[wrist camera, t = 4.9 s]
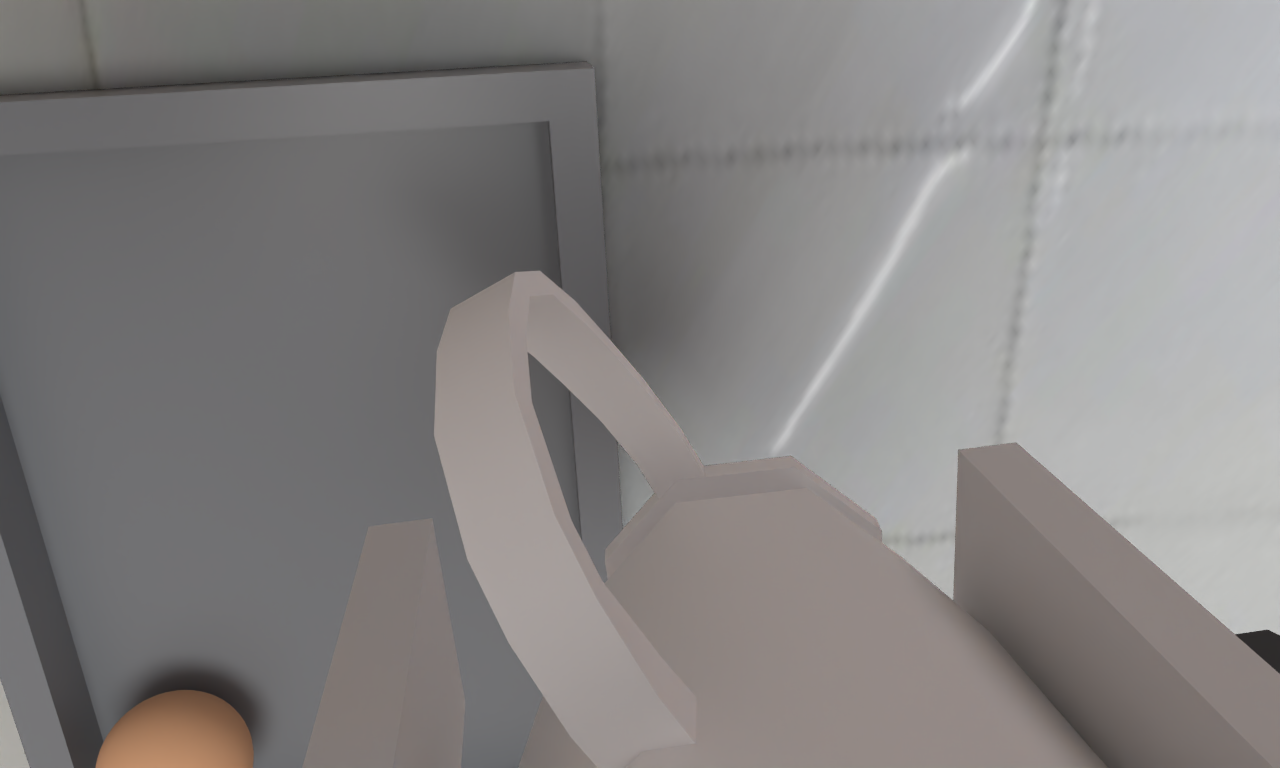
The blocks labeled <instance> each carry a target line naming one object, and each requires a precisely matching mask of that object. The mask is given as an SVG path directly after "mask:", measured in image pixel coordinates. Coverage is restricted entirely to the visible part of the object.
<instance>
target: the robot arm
mask: <svg viewBox="0 0 1280 768" xmlns="http://www.w3.org/2000/svg"><path fill="white" fill-rule="evenodd" d="M953 601H954V602H955V603H956V604H958V605H959V606H960V607H961V608H962V609H963V610H965V611H966V612H967V613H968V614H969V615H971V616H972V617H973V618H974V619H975V620H976V621H978V622H979V623H980V624H981V625H982V626H984V627H985V628H986V629H987V630H988V631H989V632H990V633H991V634H992V635H993V636H994V637H995V639H996V640H997V641H998V642H999V643H1000V644H1001V646H1002V647H1003V648H1004V649H1005V650H1006V651H1007V652H1008V654H1009V655H1010V656H1011V657H1012V658H1013V659H1014V660H1015V662H1016V663H1017V664H1018V665H1019V666H1020V667H1021V668H1022V670H1023V671H1024V672H1025V673H1026V674H1027V675H1028V677H1029V678H1030V679H1031V680H1032V681H1033V682H1034V683H1035V685H1036V686H1037V687H1038V688H1039V689H1040V690H1041V691H1042V693H1043V694H1044V695H1045V696H1046V697H1047V698H1048V700H1049V701H1050V702H1051V703H1052V704H1053V705H1054V706H1055V708H1056V709H1057V710H1058V711H1059V712H1060V713H1061V714H1062V716H1063V717H1064V718H1065V719H1066V720H1067V721H1068V723H1069V724H1070V725H1071V726H1072V727H1073V728H1074V729H1075V731H1076V732H1077V733H1078V734H1079V735H1080V736H1081V737H1082V739H1083V740H1084V741H1085V742H1086V743H1087V744H1088V746H1089V747H1090V748H1091V749H1092V750H1093V751H1094V752H1095V754H1096V755H1097V756H1098V757H1099V758H1100V759H1101V760H1102V761H1103V762H1104V763H1105V765H1106V766H1107V767H1108V768H1280V635H1277V634H1275V633H1273V632H1271V631H1269V630H1263V631H1256V632H1249V633H1242V634H1234V633H1233V632H1231V631H1230V630H1229V629H1228V628H1227V627H1226V626H1225V625H1223V624H1222V623H1221V622H1220V621H1219V620H1218V619H1217V618H1215V617H1214V616H1213V615H1212V614H1211V613H1210V612H1209V611H1208V610H1206V609H1205V608H1204V607H1203V606H1202V605H1201V604H1200V603H1198V602H1197V601H1196V600H1195V599H1194V598H1193V597H1192V596H1190V595H1189V594H1188V593H1187V592H1186V591H1185V590H1184V589H1182V588H1181V587H1180V586H1179V585H1178V584H1177V583H1176V582H1174V581H1173V580H1172V579H1171V578H1170V577H1169V576H1168V575H1167V574H1165V573H1164V572H1163V571H1162V570H1161V569H1160V568H1159V567H1157V566H1156V565H1155V564H1154V563H1153V562H1152V561H1151V560H1149V559H1148V558H1147V557H1146V556H1145V555H1144V554H1143V553H1141V552H1140V551H1139V550H1138V549H1137V548H1136V547H1135V546H1133V545H1132V544H1131V543H1130V542H1129V541H1128V540H1127V539H1126V538H1124V537H1123V536H1122V535H1121V534H1120V533H1119V532H1118V531H1116V530H1115V529H1114V528H1113V527H1112V526H1111V525H1110V524H1108V523H1107V522H1106V521H1105V520H1104V519H1103V518H1102V517H1100V516H1099V515H1098V514H1097V513H1096V512H1095V511H1094V510H1093V509H1091V508H1090V507H1089V506H1088V505H1087V504H1086V503H1085V502H1083V501H1082V500H1081V499H1080V498H1079V497H1078V496H1077V495H1075V494H1074V493H1073V492H1072V491H1071V490H1070V489H1069V488H1067V487H1066V486H1065V485H1064V484H1063V483H1062V482H1061V481H1059V480H1058V479H1057V478H1056V477H1055V476H1054V475H1053V474H1052V473H1050V472H1049V471H1048V470H1047V469H1046V468H1045V467H1044V466H1042V465H1041V464H1040V463H1039V462H1038V461H1037V460H1036V459H1034V458H1033V457H1032V456H1031V455H1030V454H1029V453H1028V452H1026V451H1025V450H1024V449H1023V448H1022V447H1021V446H1020V445H1018V444H1017V443H1016V442H1015V443H1007V444H1000V445H992V446H984V447H977V448H969V449H961V450H958V473H957V503H956V533H955V563H954V594H953ZM464 714H465V698H464V692H463V687H462V681H461V676H460V670H459V665H458V659H457V653H456V648H455V642H454V637H453V631H452V626H451V620H450V615H449V609H448V604H447V598H446V592H445V587H444V581H443V576H442V570H441V565H440V559H439V554H438V548H437V542H436V537H435V531H434V526H433V520H432V518H431V519H423V520H415V521H407V522H400V523H392V524H384V525H377V526H369V527H368V531H367V535H366V538H365V542H364V546H363V549H362V553H361V556H360V560H359V564H358V567H357V571H356V575H355V578H354V582H353V586H352V589H351V593H350V596H349V600H348V604H347V607H346V611H345V615H344V618H343V622H342V625H341V629H340V633H339V636H338V640H337V644H336V647H335V651H334V655H333V658H332V662H331V665H330V669H329V673H328V676H327V680H326V684H325V687H324V691H323V695H322V698H321V702H320V705H319V709H318V713H317V716H316V720H315V724H314V727H313V731H312V735H311V738H310V742H309V745H308V749H307V753H306V756H305V760H304V764H303V767H302V768H461V758H462V743H463V728H464Z"/></svg>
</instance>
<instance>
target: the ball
mask: <svg viewBox="0 0 1280 768" xmlns="http://www.w3.org/2000/svg"><path fill="white" fill-rule="evenodd" d="M253 759H254V750H253V743H252V738H251V735H250V732H249V729H248V727H247V725H246V723H245V721H244V720H243V718H242V717H241V715H240V714H239V713H238V712H237V711H236V710H235V709H234V708H233V707H232V706H231V705H230V704H229V703H227V702H226V701H224V700H223V699H221V698H219V697H217V696H214V695H212V694H209V693H206V692H202V691H196V690H176V691H170V692H165V693H162V694H158V695H156V696H153V697H151V698H149V699H147V700H145V701H143V702H141V703H139V704H138V705H136V706H135V707H134V708H132V709H131V710H129V711H128V712H127V713H126V714H125V715H124V716H123V717H122V718H121V719H120V720H119V721H118V722H117V723H116V724H115V725H114V727H113V728H112V729H111V731H110V732H109V734H108V735H107V737H106V738H105V740H104V742H103V744H102V747H101V749H100V751H99V755H98V758H97V762H96V767H95V768H253Z"/></svg>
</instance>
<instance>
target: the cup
mask: <svg viewBox="0 0 1280 768" xmlns="http://www.w3.org/2000/svg"><path fill="white" fill-rule="evenodd" d="M527 352H528V353H530V354H531V355H532V356H533V357H535V358H536V359H537V360H538V361H539V362H540V363H541V364H542V365H543V366H544V367H545V368H546V369H547V370H548V371H550V372H551V373H552V374H553V375H554V376H555V377H556V378H557V379H558V380H559V381H560V382H561V383H562V384H564V385H565V386H566V387H567V388H568V389H569V390H570V391H571V392H572V393H573V394H574V395H575V396H576V397H577V398H578V399H579V400H580V401H581V402H582V403H583V404H584V405H585V406H586V407H587V408H588V409H589V410H590V411H591V412H592V413H593V414H594V415H595V416H596V417H597V418H598V419H599V420H600V421H601V422H602V423H603V424H604V426H605V427H606V428H607V429H608V430H609V432H610V433H611V434H612V435H613V436H614V438H615V439H616V440H617V441H618V442H619V443H620V445H621V446H622V447H623V448H624V449H625V451H626V452H627V453H628V454H629V455H630V457H631V458H632V459H633V460H634V461H635V463H636V464H637V465H638V467H639V468H640V470H641V472H642V473H643V475H644V476H645V478H646V480H647V481H648V483H649V484H650V486H651V488H652V489H653V491H654V492H655V493H654V494H653V495H652V497H651V498H650V499H649V500H648V501H647V502H646V503H645V505H644V506H643V507H642V508H641V509H640V510H639V511H638V513H637V514H636V515H635V516H634V517H633V518H632V519H631V521H630V522H629V523H628V524H627V525H626V526H625V527H624V528H623V530H622V531H621V532H620V533H619V534H618V535H617V536H616V538H615V539H614V540H613V541H612V542H611V543H610V544H609V546H608V547H607V548H606V549H605V566H606V572H607V579H608V580H607V581H606V582H605V583H604V582H603V581H602V580H601V578H600V576H599V574H598V572H597V570H596V568H595V566H594V564H593V562H592V560H591V558H590V556H589V554H588V552H587V550H586V548H585V546H584V544H583V542H582V540H581V538H580V536H579V534H578V532H577V530H576V528H575V526H574V524H573V522H572V520H571V518H570V515H569V512H568V509H567V506H566V503H565V500H564V497H563V494H562V491H561V488H560V485H559V482H558V479H557V476H556V473H555V470H554V467H553V464H552V461H551V458H550V455H549V452H548V449H547V446H546V443H545V440H544V437H543V434H542V431H541V428H540V425H539V422H538V419H537V416H536V413H535V410H534V407H533V404H532V397H531V386H530V375H529V364H528V353H527ZM434 438H435V441H436V445H437V449H438V452H439V456H440V460H441V464H442V467H443V471H444V475H445V478H446V482H447V486H448V490H449V493H450V497H451V501H452V504H453V508H454V512H455V516H456V519H457V523H458V527H459V530H460V534H461V538H462V542H463V545H464V549H465V553H466V556H467V560H468V562H469V564H470V566H471V568H472V570H473V572H474V574H475V576H476V578H477V580H478V582H479V584H480V586H481V588H482V590H483V592H484V594H485V596H486V598H487V600H488V602H489V604H490V606H491V608H492V610H493V612H494V614H495V616H496V618H497V620H498V623H499V625H500V627H501V629H502V631H503V633H504V635H505V637H506V639H507V641H508V643H509V644H510V646H511V647H512V649H513V650H514V652H515V653H516V655H517V657H518V658H519V660H520V661H521V663H522V664H523V666H524V667H525V669H526V670H527V672H528V673H529V675H530V676H531V678H532V679H533V681H534V682H535V684H536V685H537V687H538V688H539V690H540V691H541V693H542V694H543V697H542V700H541V703H540V706H539V709H538V711H537V714H536V717H535V720H534V723H533V726H532V729H531V732H530V735H529V738H528V741H527V743H526V746H525V749H524V752H523V755H522V758H521V761H520V764H519V767H518V768H1108V767H1107V766H1106V765H1105V763H1104V762H1103V761H1102V760H1101V759H1100V758H1099V757H1098V756H1097V755H1096V754H1095V752H1094V751H1093V750H1092V749H1091V748H1090V747H1089V746H1088V744H1087V743H1086V742H1085V741H1084V740H1083V739H1082V737H1081V736H1080V735H1079V734H1078V733H1077V732H1076V731H1075V729H1074V728H1073V727H1072V726H1071V725H1070V724H1069V723H1068V721H1067V720H1066V719H1065V718H1064V717H1063V716H1062V714H1061V713H1060V712H1059V711H1058V710H1057V709H1056V708H1055V706H1054V705H1053V704H1052V703H1051V702H1050V701H1049V700H1048V698H1047V697H1046V696H1045V695H1044V694H1043V693H1042V691H1041V690H1040V689H1039V688H1038V687H1037V686H1036V685H1035V683H1034V682H1033V681H1032V680H1031V679H1030V678H1029V677H1028V675H1027V674H1026V673H1025V672H1024V671H1023V670H1022V668H1021V667H1020V666H1019V665H1018V664H1017V663H1016V662H1015V660H1014V659H1013V658H1012V657H1011V656H1010V655H1009V654H1008V652H1007V651H1006V650H1005V649H1004V648H1003V647H1002V646H1001V644H1000V643H999V642H998V641H997V640H996V639H995V637H994V636H993V635H992V634H991V633H990V632H989V631H988V630H987V629H986V628H985V627H984V626H982V625H981V624H980V623H979V622H978V621H976V620H975V619H974V618H973V617H972V616H971V615H969V614H968V613H967V612H966V611H965V610H963V609H962V608H961V607H960V606H959V605H958V604H956V603H955V602H954V601H953V600H952V599H951V598H949V597H948V596H947V595H946V594H945V593H943V592H942V591H941V590H940V589H939V588H938V587H936V586H935V585H934V584H933V583H932V582H930V581H929V580H928V579H927V578H926V577H925V576H923V575H922V574H921V573H920V572H919V571H917V570H916V569H915V568H914V567H913V566H912V565H910V564H909V563H908V562H907V561H906V560H905V559H903V558H902V557H901V556H899V555H898V554H897V553H895V552H894V551H892V550H891V549H890V548H888V547H887V546H886V545H884V544H883V543H882V530H881V528H880V526H879V524H878V522H877V519H876V518H875V517H873V516H872V515H870V514H869V513H868V512H866V511H865V510H864V509H862V508H861V507H860V506H858V505H857V504H856V503H854V502H853V501H851V500H850V499H849V498H847V497H846V496H845V495H843V494H842V493H841V492H839V491H838V490H837V489H835V488H834V487H832V486H831V485H830V484H828V483H827V482H826V481H824V480H823V479H822V478H820V477H819V476H818V475H816V474H815V473H813V472H812V471H811V470H809V469H808V468H807V467H805V466H804V465H803V464H801V463H800V462H799V461H797V460H796V459H795V458H793V457H792V456H785V457H777V458H768V459H759V460H751V461H742V462H733V463H725V464H716V465H707V466H703V464H702V462H701V461H700V459H699V458H698V456H697V454H696V453H695V451H694V449H693V448H692V446H691V444H690V443H689V441H688V440H687V438H686V436H685V435H684V433H683V431H682V430H681V428H680V427H679V425H678V424H677V423H676V421H675V420H674V419H673V417H672V416H671V415H670V413H669V412H668V411H667V409H666V408H665V407H664V405H663V404H662V403H661V401H660V400H659V399H658V397H657V396H656V395H655V393H654V392H653V391H652V389H651V388H650V387H649V385H648V384H647V383H646V381H645V380H644V379H643V378H642V376H641V375H640V374H639V373H638V372H637V371H636V369H635V368H634V367H633V366H632V365H631V364H630V362H629V361H628V360H627V359H626V358H625V357H624V355H623V354H622V353H621V352H620V351H619V350H618V348H617V347H616V346H615V345H614V344H613V343H612V341H611V340H610V339H609V338H608V337H607V336H606V335H605V333H604V332H603V331H602V330H601V329H600V328H599V327H598V326H597V325H596V323H595V322H594V321H593V320H592V319H591V318H590V317H589V316H588V314H587V313H586V312H585V311H584V310H583V309H582V308H581V307H580V306H579V304H578V303H577V302H576V301H575V300H574V299H572V298H571V297H570V296H569V295H568V294H567V293H565V292H564V291H563V290H562V289H561V288H560V287H558V286H557V285H556V284H555V283H554V282H553V281H551V280H550V279H549V278H548V277H547V276H546V275H544V274H543V273H542V272H541V271H523V272H514V273H512V274H511V275H509V276H507V277H505V278H504V279H502V280H500V281H498V282H497V283H495V284H493V285H491V286H490V287H488V288H486V289H484V290H482V291H481V292H479V293H477V294H475V295H474V296H472V297H470V298H468V299H467V300H465V301H463V302H461V303H459V304H458V305H456V306H454V307H452V308H451V309H450V312H449V315H448V318H447V321H446V324H445V327H444V330H443V334H442V337H441V340H440V343H439V346H438V349H437V359H436V390H435V420H434Z"/></svg>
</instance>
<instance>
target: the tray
mask: <svg viewBox="0 0 1280 768" xmlns="http://www.w3.org/2000/svg"><path fill="white" fill-rule="evenodd" d="M523 271H541V272H542V273H543V274H544V275H546V276H547V277H548V278H549V279H550V280H551V281H553V282H554V283H555V284H556V285H557V286H558V287H560V288H561V289H562V290H563V291H564V292H565V293H567V294H568V295H569V296H570V297H571V298H572V299H574V300H575V301H576V302H577V303H578V304H579V306H580V307H581V308H582V309H583V310H584V311H585V312H586V313H587V314H588V316H589V317H590V318H591V319H592V320H593V321H594V322H595V323H596V325H597V326H598V327H599V328H600V329H601V330H602V331H603V332H604V333H605V335H606V336H607V337H608V338H609V339H610V340H611V332H610V316H609V299H608V283H607V267H606V250H605V234H604V218H603V201H602V185H601V169H600V152H599V136H598V120H597V103H596V87H595V71H594V67H592V66H591V65H590V64H589V63H588V62H568V63H551V64H533V65H516V66H498V67H481V68H463V69H446V70H428V71H411V72H393V73H375V74H358V75H340V76H323V77H305V78H288V79H270V80H253V81H235V82H218V83H200V84H183V85H165V86H148V87H130V88H113V89H95V90H78V91H60V92H43V93H25V94H8V95H0V679H1V682H2V685H3V688H4V691H5V694H6V697H7V700H8V703H9V706H10V709H11V712H12V715H13V718H14V721H15V724H16V727H17V730H18V733H19V736H20V739H21V742H22V745H23V748H24V751H25V754H26V757H27V760H28V763H29V766H30V768H95V767H96V762H97V758H98V755H99V751H100V749H101V747H102V744H103V742H104V740H105V738H106V737H107V735H108V734H109V732H110V731H111V729H112V728H113V727H114V725H115V724H116V723H117V722H118V721H119V720H120V719H121V718H122V717H123V716H124V715H125V714H126V713H127V712H128V711H129V710H131V709H132V708H134V707H135V706H136V705H138V704H139V703H141V702H143V701H145V700H147V699H149V698H151V697H153V696H156V695H158V694H162V693H165V692H170V691H176V690H196V691H202V692H206V693H209V694H212V695H214V696H217V697H219V698H221V699H223V700H224V701H226V702H227V703H229V704H230V705H231V706H232V707H233V708H234V709H235V710H236V711H237V712H238V713H239V714H240V715H241V717H242V718H243V720H244V721H245V723H246V725H247V727H248V729H249V732H250V735H251V738H252V743H253V750H254V759H253V768H302V767H303V764H304V760H305V756H306V753H307V749H308V745H309V742H310V738H311V735H312V731H313V727H314V724H315V720H316V716H317V713H318V709H319V705H320V702H321V698H322V695H323V691H324V687H325V684H326V680H327V676H328V673H329V669H330V665H331V662H332V658H333V655H334V651H335V647H336V644H337V640H338V636H339V633H340V629H341V625H342V622H343V618H344V615H345V611H346V607H347V604H348V600H349V596H350V593H351V589H352V586H353V582H354V578H355V575H356V571H357V567H358V564H359V560H360V556H361V553H362V549H363V546H364V542H365V538H366V535H367V531H368V527H369V526H377V525H384V524H392V523H400V522H407V521H415V520H423V519H431V518H432V520H433V526H434V531H435V537H436V542H437V548H438V554H439V559H440V565H441V570H442V576H443V581H444V587H445V592H446V598H447V604H448V609H449V615H450V620H451V626H452V631H453V637H454V642H455V648H456V653H457V659H458V665H459V670H460V676H461V681H462V687H463V692H464V698H465V714H464V728H463V743H462V758H461V768H518V767H519V764H520V761H521V758H522V755H523V752H524V749H525V746H526V743H527V741H528V738H529V735H530V732H531V729H532V726H533V723H534V720H535V717H536V714H537V711H538V709H539V706H540V703H541V700H542V697H543V694H542V693H541V691H540V690H539V688H538V687H537V685H536V684H535V682H534V681H533V679H532V678H531V676H530V675H529V673H528V672H527V670H526V669H525V667H524V666H523V664H522V663H521V661H520V660H519V658H518V657H517V655H516V653H515V652H514V650H513V649H512V647H511V646H510V644H509V643H508V641H507V639H506V637H505V635H504V633H503V631H502V629H501V627H500V625H499V623H498V620H497V618H496V616H495V614H494V612H493V610H492V608H491V606H490V604H489V602H488V600H487V598H486V596H485V594H484V592H483V590H482V588H481V586H480V584H479V582H478V580H477V578H476V576H475V574H474V572H473V570H472V568H471V566H470V564H469V562H468V560H467V556H466V553H465V549H464V545H463V542H462V538H461V534H460V530H459V527H458V523H457V519H456V516H455V512H454V508H453V504H452V501H451V497H450V493H449V490H448V486H447V482H446V478H445V475H444V471H443V467H442V464H441V460H440V456H439V452H438V449H437V445H436V441H435V438H434V420H435V390H436V359H437V349H438V346H439V343H440V340H441V337H442V334H443V330H444V327H445V324H446V321H447V318H448V315H449V312H450V309H451V308H452V307H454V306H456V305H458V304H459V303H461V302H463V301H465V300H467V299H468V298H470V297H472V296H474V295H475V294H477V293H479V292H481V291H482V290H484V289H486V288H488V287H490V286H491V285H493V284H495V283H497V282H498V281H500V280H502V279H504V278H505V277H507V276H509V275H511V274H512V273H514V272H523ZM527 353H528V352H527ZM528 364H529V375H530V386H531V397H532V404H533V407H534V410H535V413H536V416H537V419H538V422H539V425H540V428H541V431H542V434H543V437H544V440H545V443H546V446H547V449H548V452H549V455H550V458H551V461H552V464H553V467H554V470H555V473H556V476H557V479H558V482H559V485H560V488H561V491H562V494H563V497H564V500H565V503H566V506H567V509H568V512H569V515H570V518H571V520H572V522H573V524H574V526H575V528H576V530H577V532H578V534H579V536H580V538H581V540H582V542H583V544H584V546H585V548H586V550H587V552H588V554H589V556H590V558H591V560H592V562H593V564H594V566H595V568H596V570H597V572H598V574H599V576H600V578H601V580H602V581H603V582H604V583H605V582H606V581H607V580H608V579H607V572H606V566H605V549H606V548H607V547H608V546H609V544H610V543H611V542H612V541H613V540H614V539H615V538H616V536H617V535H618V534H619V533H620V532H621V531H622V530H623V528H622V512H621V495H620V479H619V463H618V446H617V440H616V439H615V438H614V436H613V435H612V434H611V433H610V432H609V430H608V429H607V428H606V427H605V426H604V424H603V423H602V422H601V421H600V420H599V419H598V418H597V417H596V416H595V415H594V414H593V413H592V412H591V411H590V410H589V409H588V408H587V407H586V406H585V405H584V404H583V403H582V402H581V401H580V400H579V399H578V398H577V397H576V396H575V395H574V394H573V393H572V392H571V391H570V390H569V389H568V388H567V387H566V386H565V385H564V384H562V383H561V382H560V381H559V380H558V379H557V378H556V377H555V376H554V375H553V374H552V373H551V372H550V371H548V370H547V369H546V368H545V367H544V366H543V365H542V364H541V363H540V362H539V361H538V360H537V359H536V358H535V357H533V356H532V355H531V354H530V353H528Z"/></svg>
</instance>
